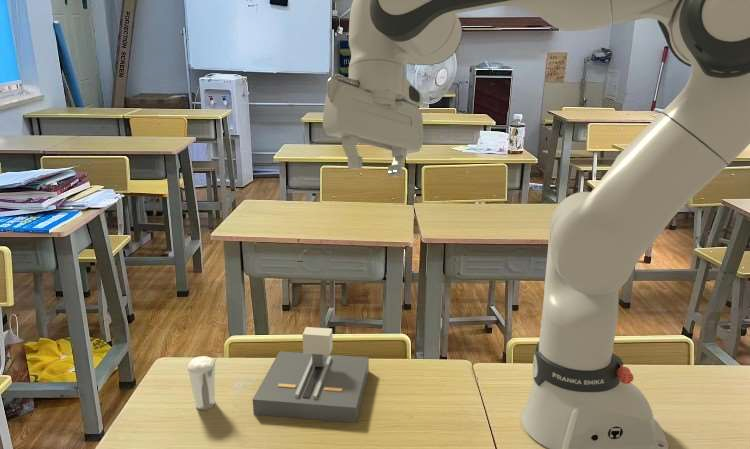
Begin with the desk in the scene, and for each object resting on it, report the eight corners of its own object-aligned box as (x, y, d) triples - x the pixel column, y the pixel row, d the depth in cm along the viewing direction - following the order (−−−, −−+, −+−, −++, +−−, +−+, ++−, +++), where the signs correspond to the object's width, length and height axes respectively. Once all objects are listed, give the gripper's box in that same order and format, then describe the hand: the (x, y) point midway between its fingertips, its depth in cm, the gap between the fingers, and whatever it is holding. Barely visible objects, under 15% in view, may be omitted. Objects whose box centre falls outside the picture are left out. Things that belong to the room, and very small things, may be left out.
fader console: (368, 370, 108) (368, 354, 107) (356, 422, 92) (355, 404, 91) (280, 364, 110) (279, 348, 109) (253, 414, 95) (252, 396, 93)
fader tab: (332, 361, 104) (332, 328, 102) (330, 369, 102) (329, 335, 100) (307, 359, 105) (306, 327, 103) (303, 367, 102) (302, 334, 100)
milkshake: (215, 414, 94) (210, 364, 91) (187, 410, 95) (181, 360, 92) (227, 399, 99) (222, 350, 96) (200, 395, 100) (194, 347, 97)
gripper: (343, 65, 78) (342, 160, 77) (429, 97, 93) (429, 178, 92) (314, 75, 82) (313, 166, 81) (400, 105, 97) (401, 181, 96)
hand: (375, 172), depth 87 cm, fingers open, 8 cm apart
